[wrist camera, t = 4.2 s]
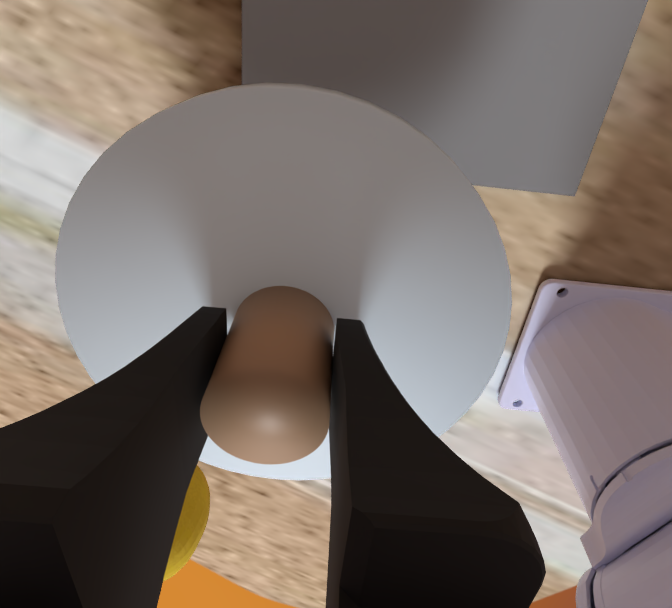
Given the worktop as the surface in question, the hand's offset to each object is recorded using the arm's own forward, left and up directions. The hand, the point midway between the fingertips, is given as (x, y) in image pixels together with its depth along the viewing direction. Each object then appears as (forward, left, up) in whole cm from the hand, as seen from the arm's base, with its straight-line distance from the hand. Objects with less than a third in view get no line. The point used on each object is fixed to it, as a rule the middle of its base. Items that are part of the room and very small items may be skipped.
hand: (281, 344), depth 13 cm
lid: (0, 0, -2) cm, 2 cm away
